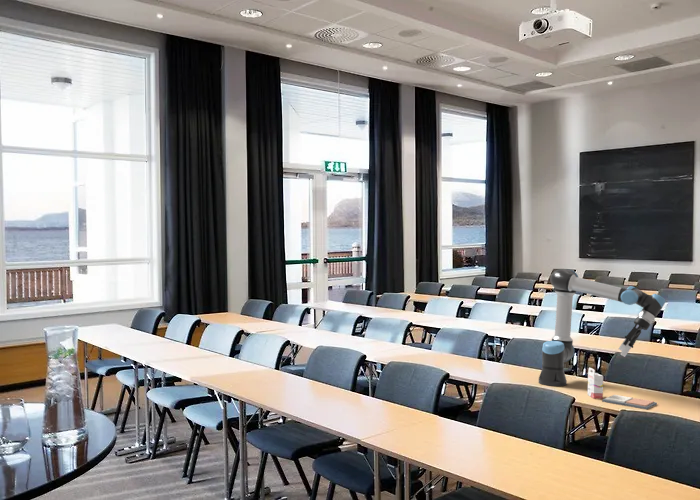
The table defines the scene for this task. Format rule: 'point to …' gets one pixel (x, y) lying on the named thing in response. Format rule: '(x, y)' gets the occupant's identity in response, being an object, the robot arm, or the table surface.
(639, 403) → the tile board
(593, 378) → the ink cartridge box
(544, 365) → the robot arm
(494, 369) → the table surface
